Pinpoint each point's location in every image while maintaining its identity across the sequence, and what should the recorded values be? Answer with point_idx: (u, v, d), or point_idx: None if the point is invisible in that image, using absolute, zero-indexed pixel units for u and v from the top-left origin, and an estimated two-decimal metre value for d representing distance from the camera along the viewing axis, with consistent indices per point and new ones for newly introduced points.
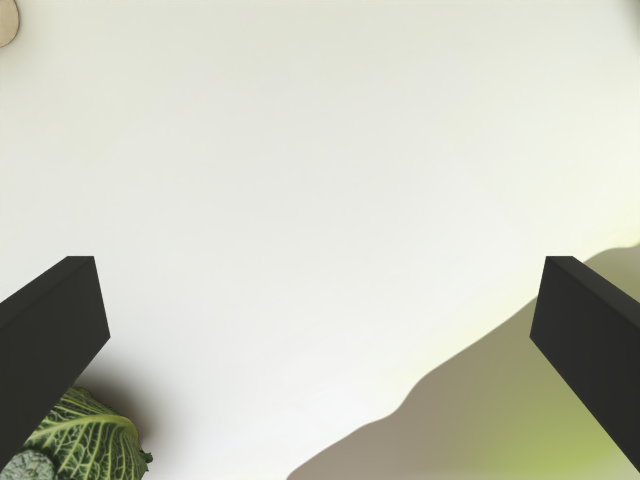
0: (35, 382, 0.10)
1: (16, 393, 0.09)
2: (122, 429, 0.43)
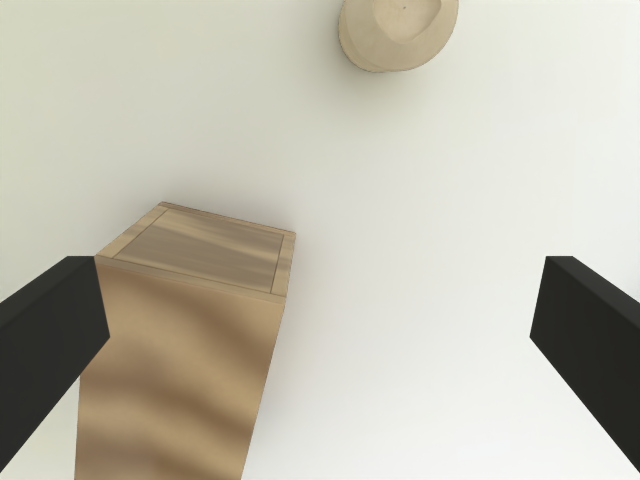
0: (35, 382, 0.10)
1: (17, 394, 0.09)
2: None
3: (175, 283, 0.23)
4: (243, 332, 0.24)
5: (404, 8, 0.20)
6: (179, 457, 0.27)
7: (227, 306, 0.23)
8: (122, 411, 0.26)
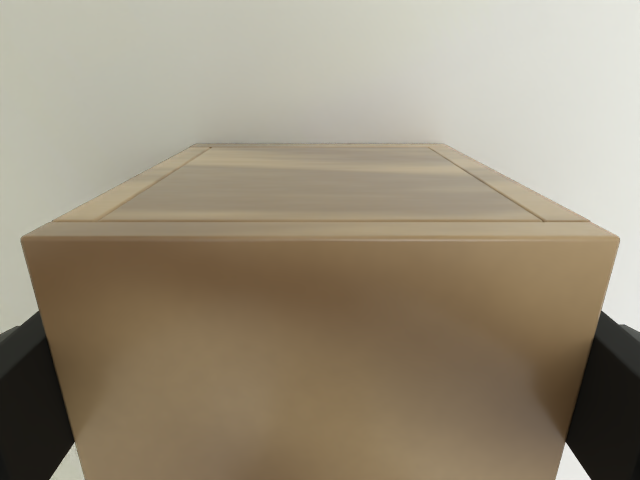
0: None
1: None
2: None
3: (283, 243, 0.08)
4: (497, 345, 0.08)
5: None
6: None
7: (446, 281, 0.08)
8: None
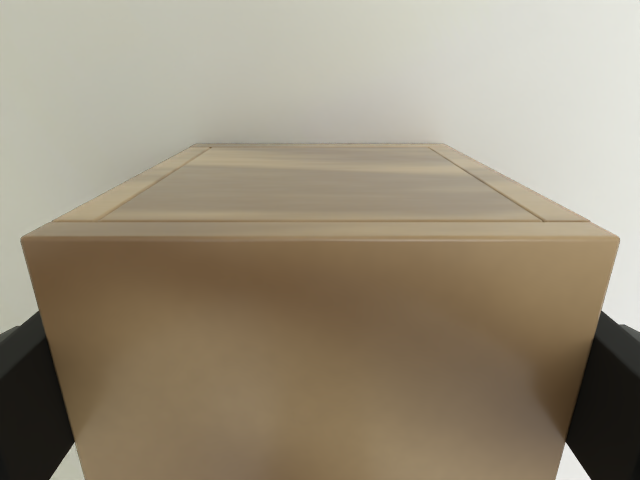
0: None
1: None
2: None
3: (284, 243, 0.08)
4: (497, 345, 0.08)
5: None
6: None
7: (446, 281, 0.08)
8: None
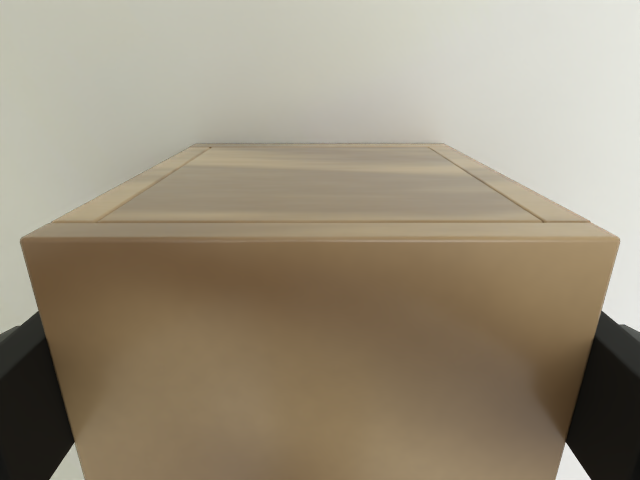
0: None
1: None
2: None
3: (283, 244, 0.08)
4: (497, 346, 0.08)
5: None
6: None
7: (446, 281, 0.08)
8: None
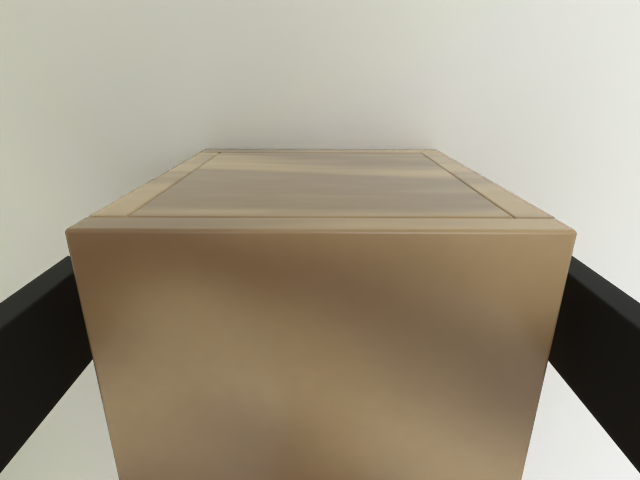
0: (35, 382, 0.10)
1: (16, 393, 0.09)
2: None
3: (289, 235, 0.09)
4: (473, 325, 0.10)
5: None
6: None
7: (428, 268, 0.09)
8: None
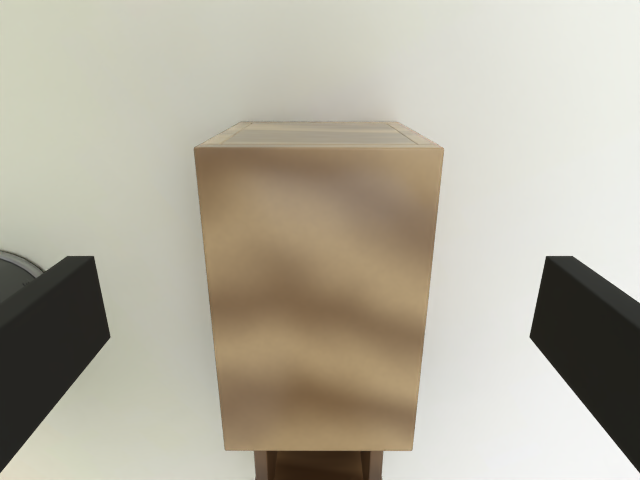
0: (35, 382, 0.10)
1: (16, 394, 0.09)
2: None
3: (303, 150, 0.18)
4: (396, 199, 0.19)
5: None
6: (340, 387, 0.23)
7: (372, 167, 0.18)
8: (265, 340, 0.22)
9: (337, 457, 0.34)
